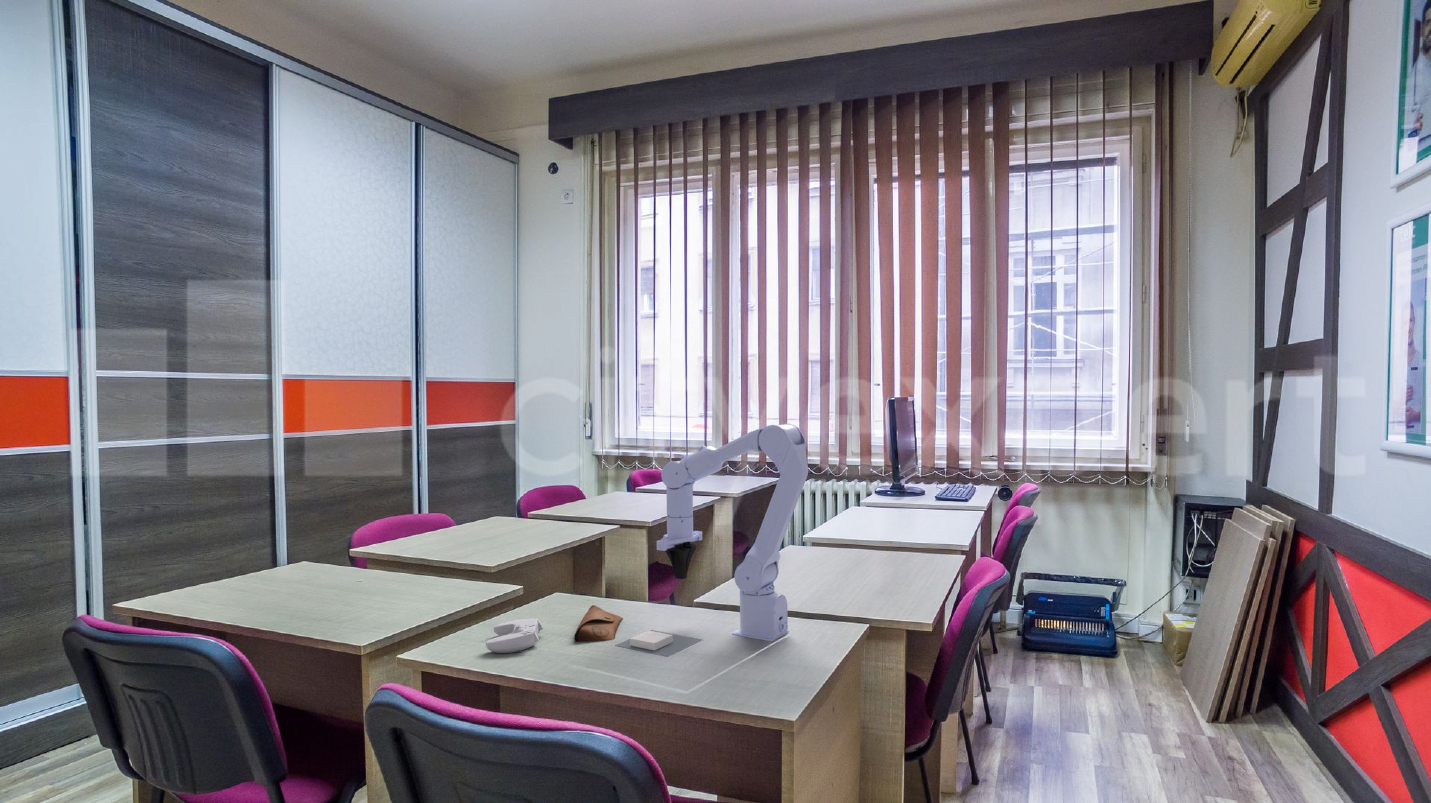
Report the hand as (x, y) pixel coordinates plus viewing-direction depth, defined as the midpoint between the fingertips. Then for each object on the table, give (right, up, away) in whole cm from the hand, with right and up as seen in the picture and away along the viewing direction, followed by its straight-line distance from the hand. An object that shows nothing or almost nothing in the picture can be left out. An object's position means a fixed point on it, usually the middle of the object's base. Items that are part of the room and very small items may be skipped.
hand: (680, 578), depth 167 cm
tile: (-3, -9, -13) cm, 16 cm away
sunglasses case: (-17, -11, -4) cm, 20 cm away
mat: (-4, -10, -14) cm, 18 cm away
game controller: (-33, -11, -12) cm, 37 cm away
